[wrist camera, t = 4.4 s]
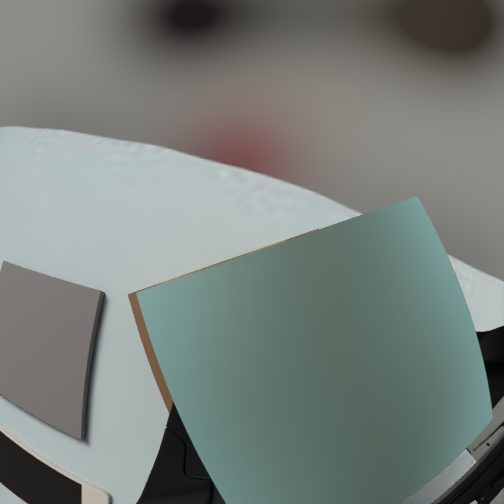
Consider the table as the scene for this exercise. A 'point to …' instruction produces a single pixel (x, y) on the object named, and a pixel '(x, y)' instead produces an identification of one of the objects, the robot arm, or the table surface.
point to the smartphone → (42, 477)
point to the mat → (47, 345)
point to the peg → (325, 363)
